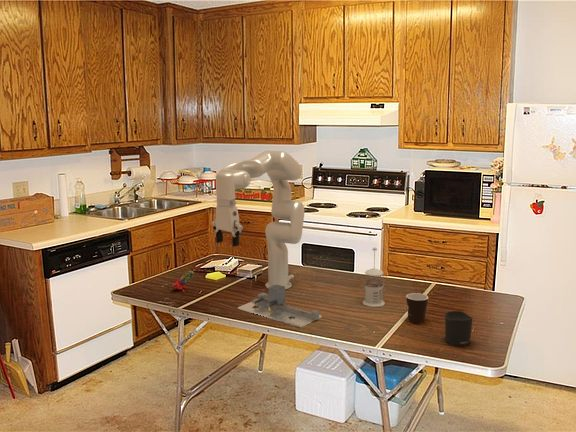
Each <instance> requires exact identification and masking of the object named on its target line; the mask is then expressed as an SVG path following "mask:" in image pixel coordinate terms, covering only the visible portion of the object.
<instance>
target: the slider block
mask: <svg viewBox="0 0 576 432" xmlns="http://www.w3.org/2000/svg"><path fill="white" fill-rule="evenodd" d="M268 300H269V303H266V306H267V307H268V311H271V310H270V307H271V306H274V305H277V306H278V305H281V304H285V303H286V289H285V287H284V286H280V285H274V286H271V287H269V289H268Z"/></svg>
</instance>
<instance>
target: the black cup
mask: <svg viewBox="0 0 576 432" xmlns="http://www.w3.org/2000/svg"><path fill="white" fill-rule="evenodd" d="M405 297H406V307H407V320H408V322H409V323H412V324H423V323H425V320H426V314H427V307H428V303H429V296H428V295H426V294H423V293H421V292H420V293H419V292H417V293H416V292H414V293H412V292H411V293H407V294H406V296H405Z"/></svg>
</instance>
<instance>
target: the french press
mask: <svg viewBox="0 0 576 432" xmlns="http://www.w3.org/2000/svg"><path fill="white" fill-rule="evenodd" d="M377 249H378V248H377V247H372V251H373V253H374V255H373V258H374V259H373V268H369V269H367V270H366V271H364V273H365V275H366V276H369V277H378V278H380V279H376V278H370V279H367V280H365V284H364V299H363V301H362V304H363V305H365V306H367V307H374V308H375V307H376V308H377V307H382V306H384V305H385V303H386V302H385V301H384V300H383V299H384V298H383V297H384V296H383V294H384V293H383V292H384V290H383V289H384V286H385V282H383V280H382V278H383V279H385V276H384V271H382V270H381V269H378V268H375V261H376V260H375V259H376V257H375V256H376V255H375V254H376V251H377Z"/></svg>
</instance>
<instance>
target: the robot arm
mask: <svg viewBox="0 0 576 432" xmlns="http://www.w3.org/2000/svg"><path fill="white" fill-rule="evenodd" d="M264 174H267V176H268V177H269V180H270V181H271V183H272V187H273V191H272V192H273V194H272V200H271V201H272V202H271V216H272V217H273V218H275V219H278V220H284V221H285V220H286V221H290V222H281V221H272V222H269V223H268V224H267V225H266V227H265V237H266V243H267V263H268V264H267V269H268V271H267V274H268V281H267V282H266V283H265V285H264V286H265V288H266V289H268V290H269V287H271V286H274V285H280V286H284V287H285V290H288V289H290V288H291V287H292V282H290V280H292V279H294V278H295V276H294V274H290V275H289V251H288V246H287V244H291V245H296V244H299V243H300V241H301V239H302V235H303V228H304V220H305V219H304V218H305V207H304V204H303V202H302V201H300V200H296V199H295V200H294V199H291V198H292V187H291V185H290V182H289V181H297V180H299V179H300V178H301V176H302V167H301V165H300V164H299V162H298V161H297V160H296V159H295V158H294V157H293V156H292V155H290V154H289V152H286V151H284V150H264V151H262V152H261V153H259V154H257V155H255V156H254V157H252V158H250V159H246V160H241V161H239V162H235V163H231V164H229V165H227V166H224V167H223V168H221V169H220V170H219V171H218V173H216V175H215V194H216V207H215V219H214V220H212V221H211V224H212V228H213V230H214V233H215V242H216V243H217V244H220V243H223V241H224V236H223V235H224V233H223V232H229V233H231V235H232V238H231V241H232V247H237V246H240V236H241V234H242V232H243V229H244V227H243V225H242V224H241V223H240V216H239V211H238V206H236V204H237V201H236V190H237V189H245V188H247V187H249V185H250V184H251V181H252V180H251V179H255V178H260V177H261V176H263V175H264Z"/></svg>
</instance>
